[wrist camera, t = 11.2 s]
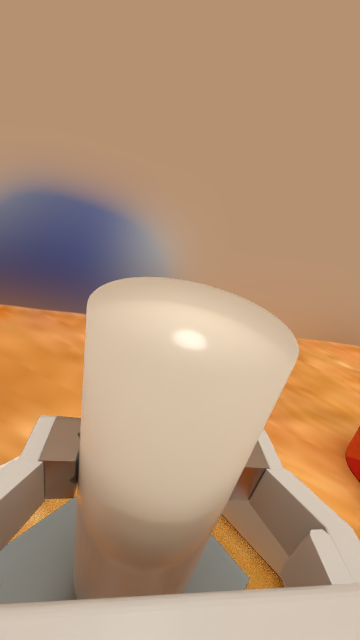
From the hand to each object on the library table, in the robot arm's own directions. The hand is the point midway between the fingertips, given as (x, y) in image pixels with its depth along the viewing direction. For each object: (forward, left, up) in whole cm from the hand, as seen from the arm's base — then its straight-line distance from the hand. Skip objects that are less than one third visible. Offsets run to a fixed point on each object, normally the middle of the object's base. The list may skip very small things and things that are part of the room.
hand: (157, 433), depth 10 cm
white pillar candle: (-1, -1, -6) cm, 7 cm away
